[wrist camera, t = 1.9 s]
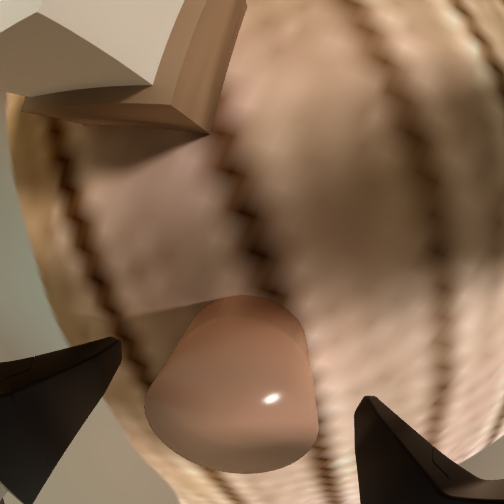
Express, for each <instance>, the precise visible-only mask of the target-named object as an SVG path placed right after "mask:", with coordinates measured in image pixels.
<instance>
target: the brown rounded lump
mask: <svg viewBox="0 0 504 504" xmlns="http://www.w3.org/2000/svg"><path fill="white" fill-rule="evenodd" d="M144 408H145V414H146V417H147V420H148V422H149V424H150V426H151V428H152V430H153V431H154V433H155V434H156V435H157V436H158V438H159V439H160V440H161V441H162V442H163V443H164V444H165V445H166V446H168V447H169V448H170V449H171V450H173V451H174V452H176V453H177V454H179V455H180V456H182V457H184V458H185V459H187V460H189V461H191V462H194V463H196V464H198V465H201V466H204V467H207V468H210V469H214V470H218V471H223V472H229V473H241V474H251V473H262V472H268V471H273V470H276V469H280V468H283V467H285V466H287V465H290V464H292V463H294V462H295V461H297V460H299V459H300V458H301V457H303V456H304V455H305V454H306V453H307V452H308V451H309V450H310V449H311V447H312V446H313V445H314V443H315V441H316V438H317V435H318V426H319V425H318V417H317V409H316V401H315V393H314V386H313V379H312V372H311V365H310V358H309V351H308V345H307V339H306V336H305V333H304V330H303V328H302V327H301V325H300V323H299V322H298V321H297V319H296V318H295V317H294V316H293V315H292V314H291V313H290V312H289V311H287V310H286V309H285V308H283V307H282V306H280V305H278V304H277V303H275V302H272V301H270V300H267V299H264V298H260V297H255V296H246V295H239V296H230V297H225V298H222V299H219V300H216V301H214V302H212V303H210V304H209V305H207V306H206V307H204V308H203V309H202V310H201V311H200V312H199V313H198V314H197V315H196V317H195V318H194V319H193V321H192V322H191V324H190V326H189V327H188V329H187V330H186V332H185V333H184V335H183V336H182V338H181V339H180V341H179V342H178V344H177V346H176V347H175V349H174V350H173V352H172V353H171V355H170V356H169V358H168V360H167V361H166V363H165V364H164V366H163V367H162V369H161V371H160V372H159V374H158V375H157V377H156V378H155V380H154V381H153V383H152V385H151V386H150V388H149V390H148V392H147V394H146V397H145V405H144Z"/></svg>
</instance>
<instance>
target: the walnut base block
mask: <svg viewBox="0 0 504 504" xmlns="http://www.w3.org/2000/svg"><path fill="white" fill-rule="evenodd" d="M246 9H247V4H246V0H184V3H183V5H182V7H181V9H180V12H179V14H178V16H177V19H176V21H175V23H174V26H173V28H172V31H171V33H170V36H169V39H168V41H167V44H166V47H165V49H164V52H163V55H162V58H161V61H160V64H159V67H158V70H157V73H156V76H155V79H154V82H153V85H131V86H110V87H97V88H87V89H78V90H70V91H63V92H57V93H51V94H45V95H40V96H35V97H27V96H26V97H25V101H24V104H23V108H22V111H24V112H29V113H34V114H39V115H44V116H49V117H53V118H58V119H62V120H66V121H71V122H75V123H79V124H83V125H118V126H136V127H150V128H161V129H172V130H181V131H189V132H197V133H204V134H210V133H211V129H212V125H213V121H214V117H215V113H216V109H217V105H218V101H219V98H220V94H221V90H222V86H223V83H224V79H225V76H226V72H227V69H228V65H229V62H230V59H231V55H232V52H233V49H234V45H235V42H236V39H237V36H238V33H239V30H240V27H241V24H242V21H243V18H244V15H245V12H246Z"/></svg>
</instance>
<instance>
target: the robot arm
mask: <svg viewBox="0 0 504 504" xmlns="http://www.w3.org/2000/svg"><path fill="white" fill-rule="evenodd" d="M121 360H122V349H121V341H120V340H119V339H116V338H114V337H107V338H104V339H100V340H96V341H93V342H89V343H85V344H82V345H78V346H74V347H70V348H66V349H62V350H58V351H54V352H50V353H47V354H42V355H39V356H35V358H34V357H30V358H26V359H20V360H15V361H9V362H1V363H0V504H4V500H3V496H4V495H5V494H6V493H7V491H9V492H10V493H11V494H12V495H13V496H14V497H16V498H17V499H18V500H19V501H20V502H21V503H23V504H33V502H34V501H35V499H36V497H37V495H38V494H39V492H40V490H41V489H42V487H43V485H44V484H45V482H46V481H47V479H48V478H49V476H50V474H51V473H52V470H53V469H54V468H55V466H56V465H57V463H58V461H59V460H60V458H61V457H62V455H63V454H64V452H65V451H66V449H67V448H68V446H69V445H70V443H71V442H72V440H73V438H74V437H75V436H76V434H77V432H78V431H79V430H80V428H81V427H82V425H83V424H84V422H85V421H86V419H87V418H88V416H89V415H90V413H91V412H92V411H93V409H94V408H95V406H96V405H97V403H98V402H99V400H100V399H101V398H102V396H103V395H104V393H105V391H106V390H107V388H108V386H109V384H110V382H111V380H112V378H113V376H114V375H115V373H116V371H117V369H118V367H119V365H120V363H121ZM354 428H355V455H356V463H357V472H358V481H359V491H360V503H361V504H504V479H500V480H483V479H480V478H478V477H476V476H474V475H473V474H471V473H470V472H468V471H467V470H465V469H464V468H462V467H460V466H459V465H458V464H456V463H455V462H453V461H452V460H450V459H449V458H448V457H446V456H445V455H444V454H442V453H441V452H440V451H439V450H437V449H436V448H435V447H433V445H431V444H430V443H429V442H428V441H427V440H425V439H424V438H423V437H422V436H421V435H420V434H418V433H417V432H416V431H415V430H414V429H412V428H411V427H410V426H409V425H408V424H407V423H405V422H404V421H403V420H402V419H401V418H400V417H398V416H397V415H396V414H395V413H394V412H393V411H392V410H390V409H389V408H388V407H387V406H386V405H385V404H384V403H382V402H381V401H380V400H379V399H378V398H377V397H375V396H364V397H363V399H362V401H361V402H360V404H359V406H358V407H357V409H356V411H355V414H354Z"/></svg>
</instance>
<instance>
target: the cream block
mask: <svg viewBox="0 0 504 504" xmlns="http://www.w3.org/2000/svg"><path fill="white" fill-rule="evenodd" d="M183 3H184V0H0V91H5V92H10V93H14V94H19V95H23V96H27V97H35V96H40V95H45V94H51V93H57V92H63V91H70V90H78V89H87V88H97V87H110V86H131V85H153V82H154V79H155V76H156V73H157V70H158V67H159V64H160V61H161V58H162V55H163V52H164V49H165V47H166V44H167V41H168V39H169V36H170V33H171V31H172V28H173V26H174V23H175V21H176V19H177V16H178V14H179V12H180V9H181V7H182V5H183Z"/></svg>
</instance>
